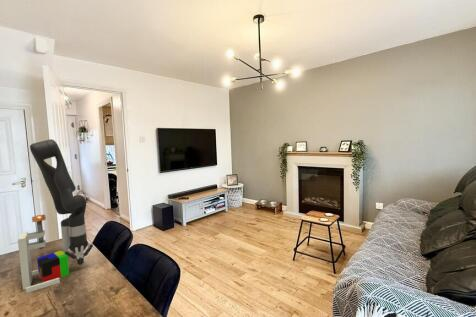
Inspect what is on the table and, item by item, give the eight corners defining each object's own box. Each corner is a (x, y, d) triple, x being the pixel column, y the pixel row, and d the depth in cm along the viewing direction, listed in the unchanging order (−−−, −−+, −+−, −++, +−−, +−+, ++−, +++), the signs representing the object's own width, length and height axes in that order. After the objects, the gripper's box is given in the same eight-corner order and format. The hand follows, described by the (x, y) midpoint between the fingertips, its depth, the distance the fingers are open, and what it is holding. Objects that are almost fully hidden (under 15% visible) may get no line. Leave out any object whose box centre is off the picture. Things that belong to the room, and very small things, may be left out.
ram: (48, 244, 117) (45, 214, 116) (48, 248, 113) (45, 216, 112) (35, 247, 114) (32, 216, 113) (34, 251, 110) (31, 218, 109)
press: (60, 266, 125) (56, 224, 124) (59, 282, 111) (55, 234, 109) (26, 276, 117) (22, 230, 115) (21, 294, 102) (16, 242, 101)
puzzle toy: (39, 277, 116) (37, 258, 115) (63, 268, 124) (61, 250, 123) (44, 284, 110) (42, 264, 109) (69, 274, 118) (67, 255, 117)
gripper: (91, 228, 129) (94, 257, 130) (62, 234, 121) (65, 266, 122) (93, 231, 123) (95, 262, 124) (62, 239, 115) (65, 272, 116)
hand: (80, 264), depth 123 cm, fingers closed
